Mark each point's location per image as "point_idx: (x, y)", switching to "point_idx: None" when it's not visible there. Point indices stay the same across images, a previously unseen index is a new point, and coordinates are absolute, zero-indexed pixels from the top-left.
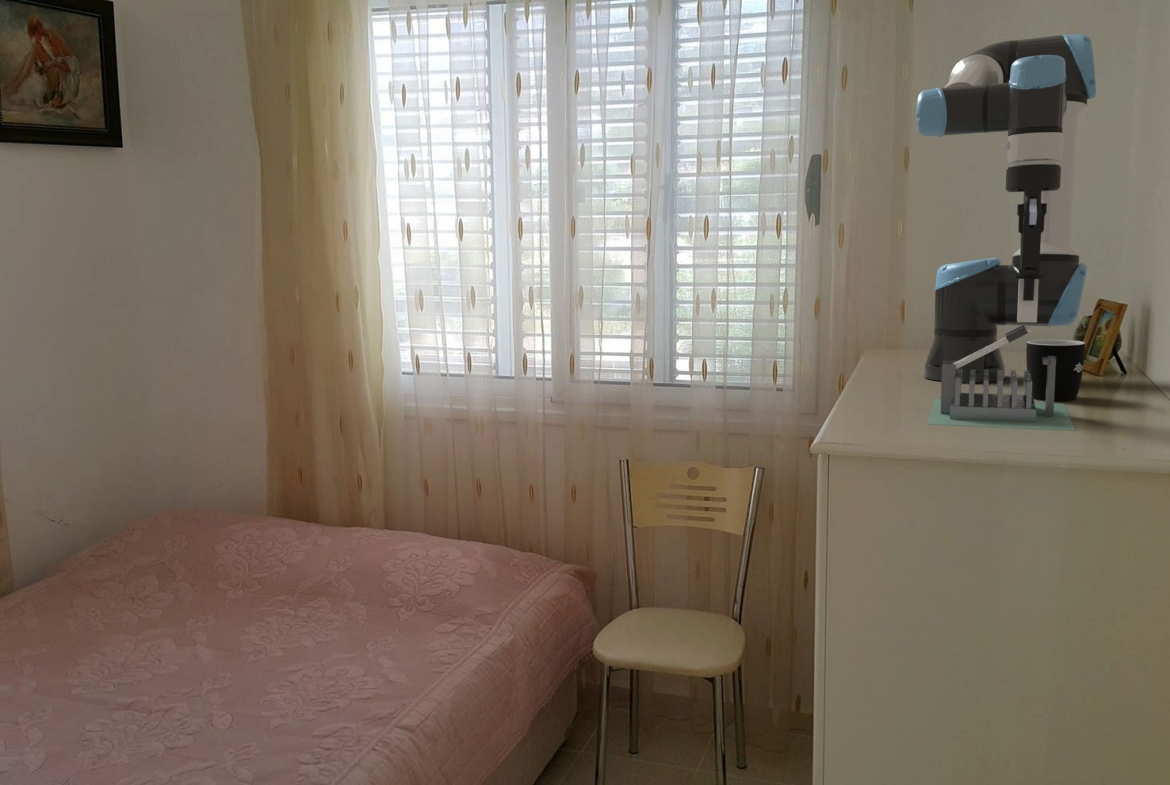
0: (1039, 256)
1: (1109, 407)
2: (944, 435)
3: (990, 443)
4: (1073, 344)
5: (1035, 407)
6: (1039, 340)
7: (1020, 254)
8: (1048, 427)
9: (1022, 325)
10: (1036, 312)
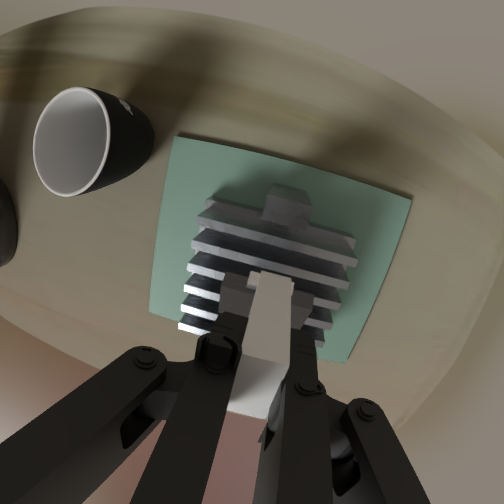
0: (415, 474)
1: (177, 70)
2: (387, 350)
3: (436, 314)
4: (54, 105)
5: (338, 234)
6: (37, 166)
7: (115, 467)
8: (388, 228)
9: (232, 291)
10: (289, 293)
